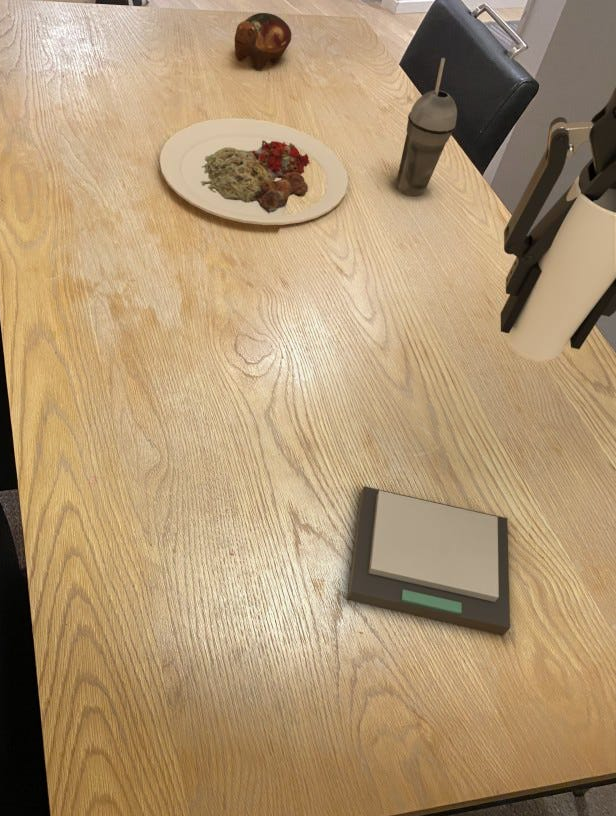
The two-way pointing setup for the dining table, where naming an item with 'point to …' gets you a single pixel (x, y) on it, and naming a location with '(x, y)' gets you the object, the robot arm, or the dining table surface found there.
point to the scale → (431, 561)
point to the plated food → (249, 170)
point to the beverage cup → (425, 138)
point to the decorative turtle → (262, 39)
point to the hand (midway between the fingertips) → (539, 330)
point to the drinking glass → (568, 278)
